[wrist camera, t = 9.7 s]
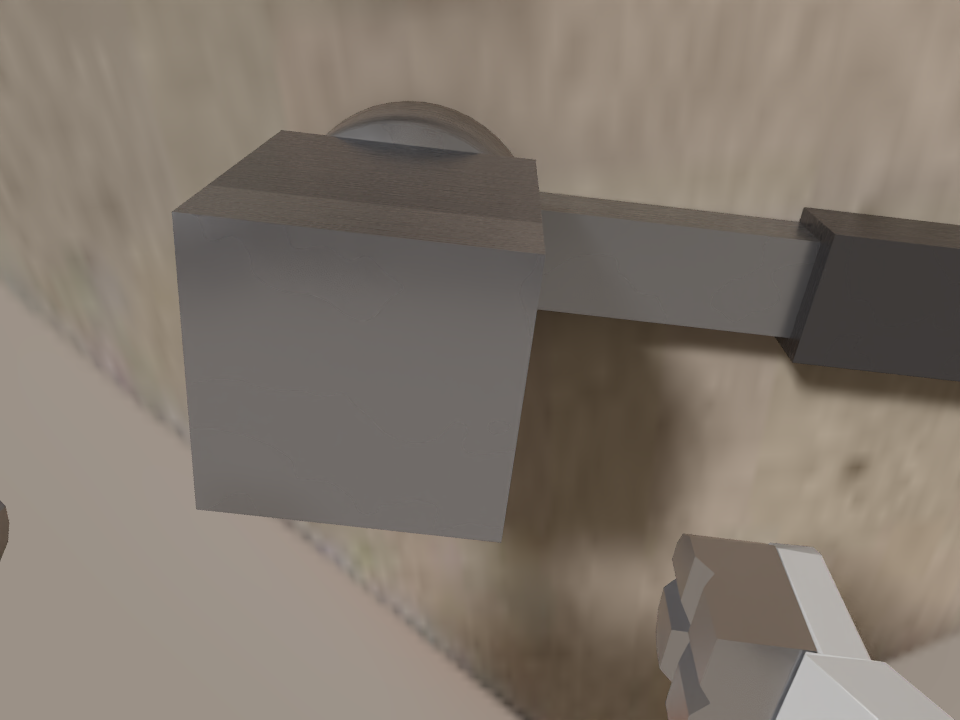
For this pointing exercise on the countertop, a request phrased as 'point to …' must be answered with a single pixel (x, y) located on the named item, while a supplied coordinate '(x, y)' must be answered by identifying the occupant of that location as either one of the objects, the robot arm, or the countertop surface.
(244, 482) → the grey metal cube
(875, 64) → the countertop surface
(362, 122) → the ratchet
